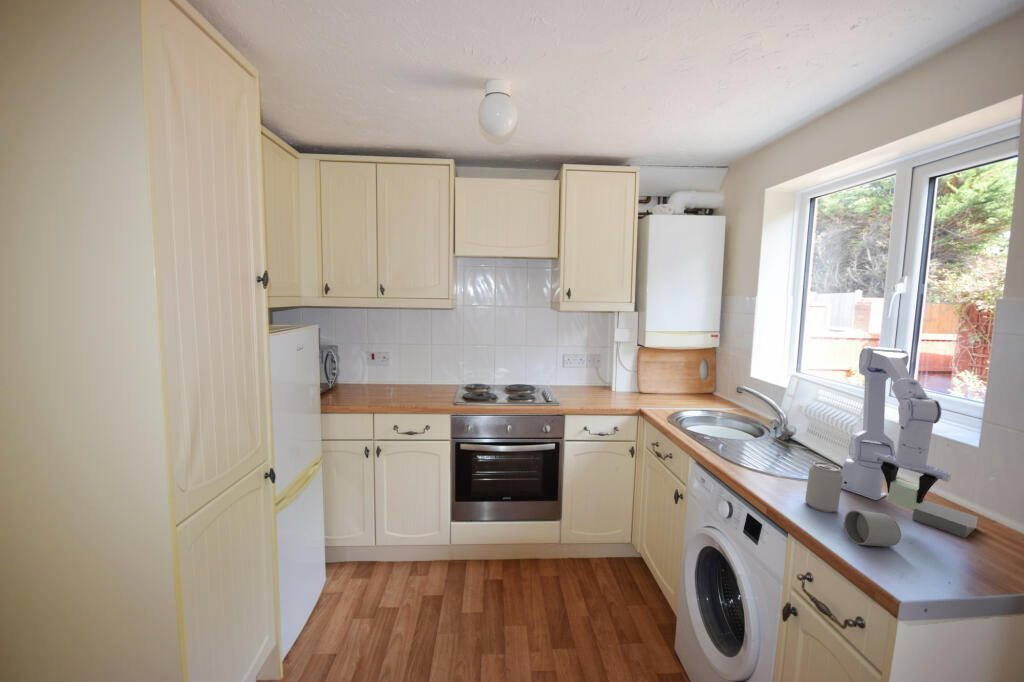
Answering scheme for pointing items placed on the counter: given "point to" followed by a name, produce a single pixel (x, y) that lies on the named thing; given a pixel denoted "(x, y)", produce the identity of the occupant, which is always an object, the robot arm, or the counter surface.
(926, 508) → the stone base
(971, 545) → the counter surface
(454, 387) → the counter surface
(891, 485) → the green block
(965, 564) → the counter surface
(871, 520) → the grey cup
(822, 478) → the can
